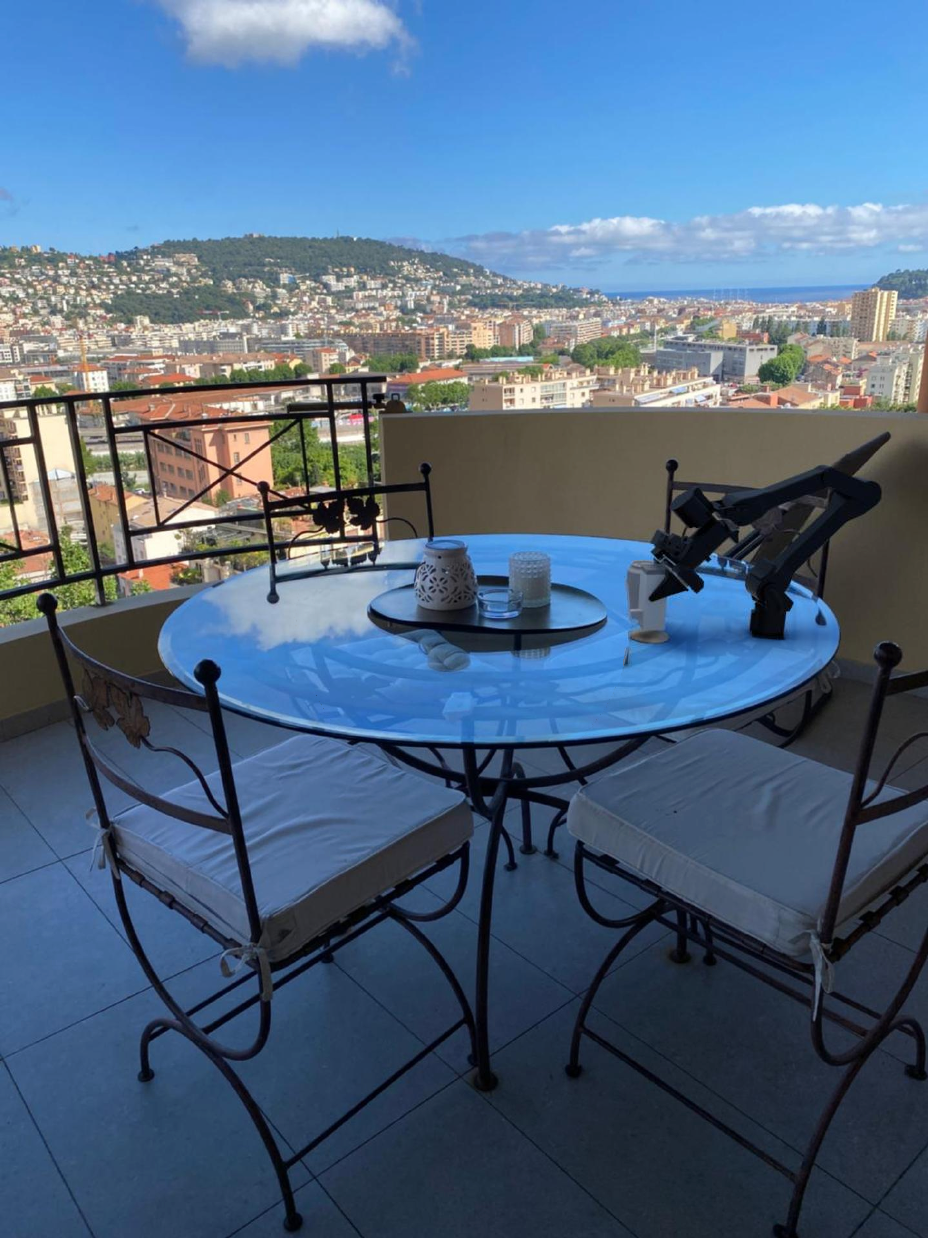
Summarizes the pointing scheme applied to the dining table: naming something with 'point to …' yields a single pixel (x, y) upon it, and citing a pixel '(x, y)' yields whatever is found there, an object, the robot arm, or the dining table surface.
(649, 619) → the adapter
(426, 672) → the dining table surface
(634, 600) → the can
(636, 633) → the coaster
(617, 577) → the dining table surface
